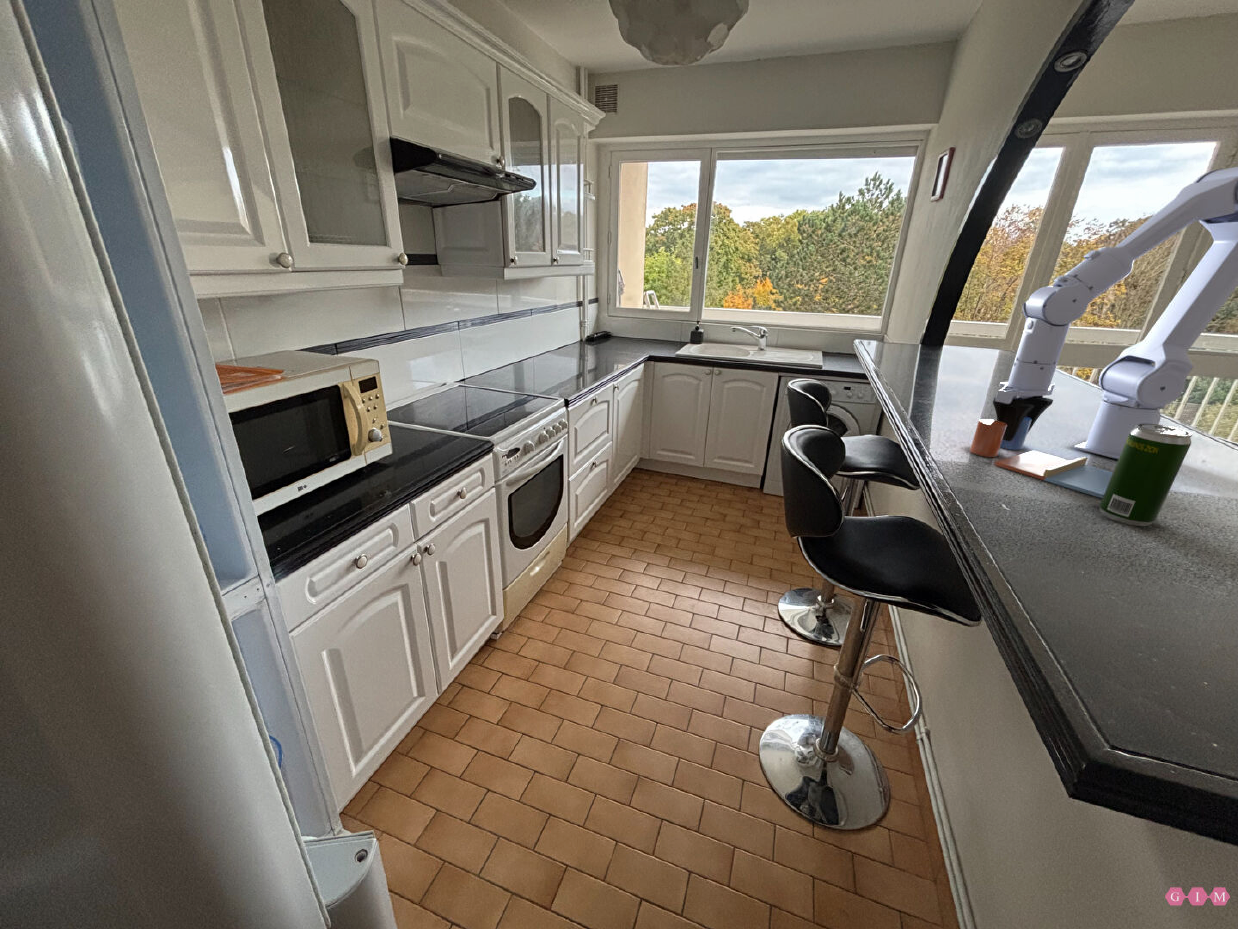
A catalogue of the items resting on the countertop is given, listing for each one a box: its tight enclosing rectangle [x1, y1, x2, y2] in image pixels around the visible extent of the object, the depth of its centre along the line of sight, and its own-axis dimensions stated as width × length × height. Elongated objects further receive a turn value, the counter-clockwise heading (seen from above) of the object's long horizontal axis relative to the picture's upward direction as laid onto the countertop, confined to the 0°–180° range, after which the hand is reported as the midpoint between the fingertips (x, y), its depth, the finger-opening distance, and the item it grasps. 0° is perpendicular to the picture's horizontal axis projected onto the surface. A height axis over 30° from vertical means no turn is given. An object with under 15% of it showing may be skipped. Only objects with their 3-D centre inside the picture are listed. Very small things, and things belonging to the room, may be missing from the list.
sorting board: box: [993, 450, 1114, 499], centre depth 79 cm, size 12×14×2 cm
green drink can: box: [1099, 423, 1193, 527], centre depth 63 cm, size 5×5×12 cm
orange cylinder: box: [969, 418, 1007, 458], centre depth 86 cm, size 4×4×6 cm
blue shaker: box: [1000, 416, 1032, 451], centre depth 90 cm, size 4×4×6 cm
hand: (1011, 437), depth 90 cm, fingers closed on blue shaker, 4 cm apart
